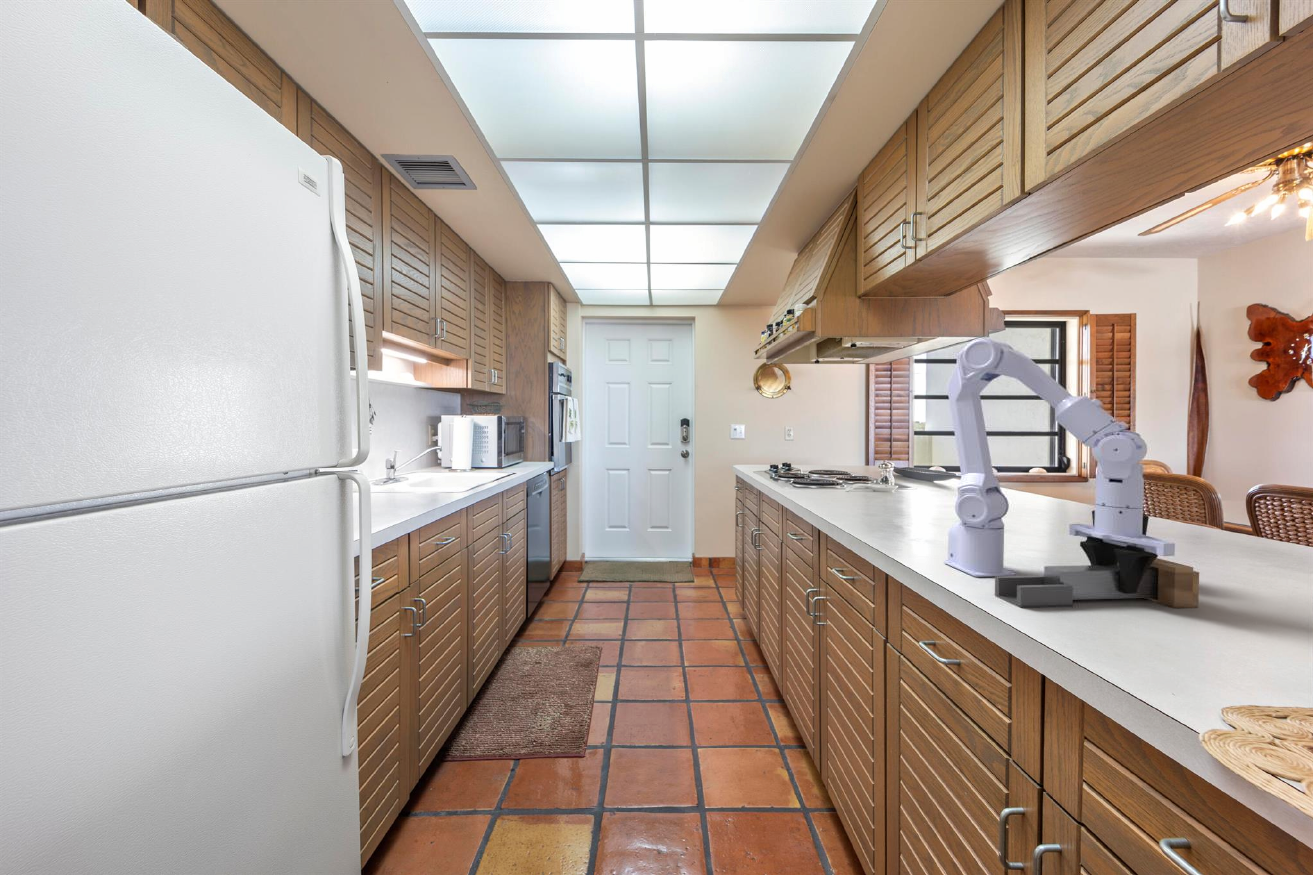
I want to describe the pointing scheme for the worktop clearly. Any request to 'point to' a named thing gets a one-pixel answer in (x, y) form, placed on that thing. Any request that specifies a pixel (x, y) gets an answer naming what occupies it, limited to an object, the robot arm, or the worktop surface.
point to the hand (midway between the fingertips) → (1116, 588)
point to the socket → (1176, 584)
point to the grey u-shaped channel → (1032, 592)
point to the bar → (1100, 581)
